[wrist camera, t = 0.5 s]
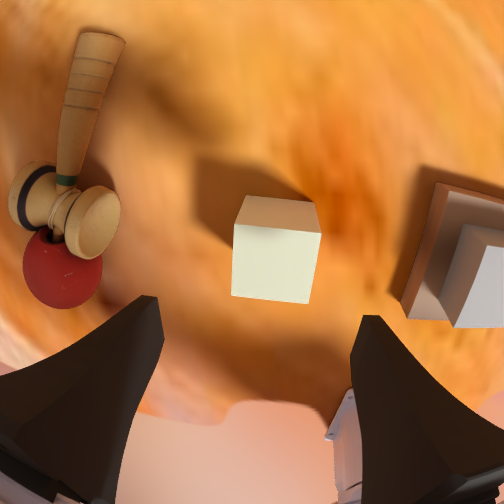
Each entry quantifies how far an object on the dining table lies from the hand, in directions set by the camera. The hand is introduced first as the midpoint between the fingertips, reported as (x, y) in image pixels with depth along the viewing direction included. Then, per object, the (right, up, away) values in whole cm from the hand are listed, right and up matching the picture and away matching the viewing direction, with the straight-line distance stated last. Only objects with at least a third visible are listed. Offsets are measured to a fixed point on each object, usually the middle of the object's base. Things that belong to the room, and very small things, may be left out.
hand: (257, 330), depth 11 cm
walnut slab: (+15, +3, +8) cm, 18 cm away
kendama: (-11, +8, +8) cm, 16 cm away
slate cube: (+15, +2, +6) cm, 16 cm away
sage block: (+1, +4, +8) cm, 10 cm away
